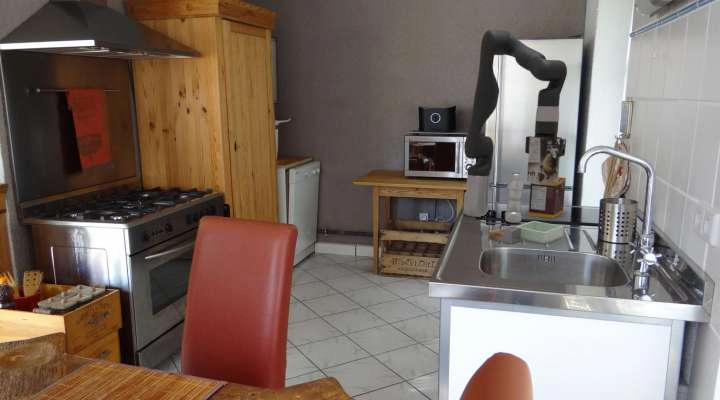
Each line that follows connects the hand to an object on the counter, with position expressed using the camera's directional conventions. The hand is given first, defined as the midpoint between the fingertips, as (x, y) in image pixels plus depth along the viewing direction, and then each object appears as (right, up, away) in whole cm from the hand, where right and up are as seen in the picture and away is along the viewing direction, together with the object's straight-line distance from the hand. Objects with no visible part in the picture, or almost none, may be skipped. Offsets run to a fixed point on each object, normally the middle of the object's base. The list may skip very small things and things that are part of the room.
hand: (543, 167), depth 186 cm
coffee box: (0, -6, +1) cm, 6 cm away
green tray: (0, -25, +5) cm, 25 cm away
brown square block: (-14, -26, +3) cm, 29 cm away
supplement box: (+16, -18, +43) cm, 49 cm away
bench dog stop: (-11, -26, -1) cm, 28 cm away
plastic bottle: (-3, -21, +26) cm, 34 cm away
